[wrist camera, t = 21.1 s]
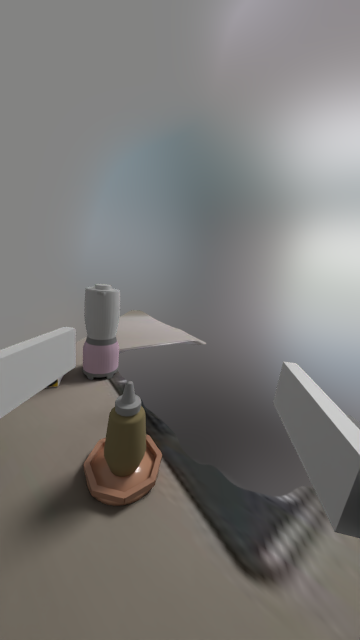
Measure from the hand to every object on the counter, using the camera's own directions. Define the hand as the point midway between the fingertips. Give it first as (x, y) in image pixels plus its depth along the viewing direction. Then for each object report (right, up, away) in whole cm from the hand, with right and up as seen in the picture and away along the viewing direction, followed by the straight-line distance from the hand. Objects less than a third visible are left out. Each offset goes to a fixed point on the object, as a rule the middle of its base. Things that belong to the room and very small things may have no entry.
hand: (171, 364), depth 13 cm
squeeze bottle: (-11, -26, +29) cm, 40 cm away
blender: (-29, -16, +66) cm, 74 cm away
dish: (-11, -27, +29) cm, 41 cm away
